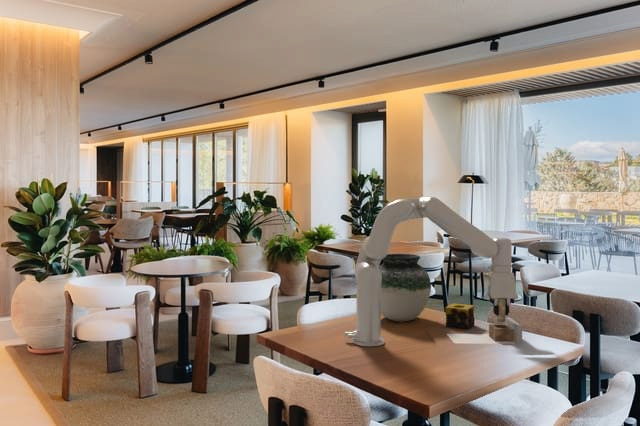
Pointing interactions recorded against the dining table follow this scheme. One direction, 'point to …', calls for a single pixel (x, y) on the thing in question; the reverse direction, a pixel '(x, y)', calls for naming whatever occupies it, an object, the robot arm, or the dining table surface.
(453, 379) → the dining table surface
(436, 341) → the dining table surface
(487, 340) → the board
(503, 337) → the brown square wooden frame
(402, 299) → the vase
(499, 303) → the dowel
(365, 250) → the robot arm
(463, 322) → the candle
